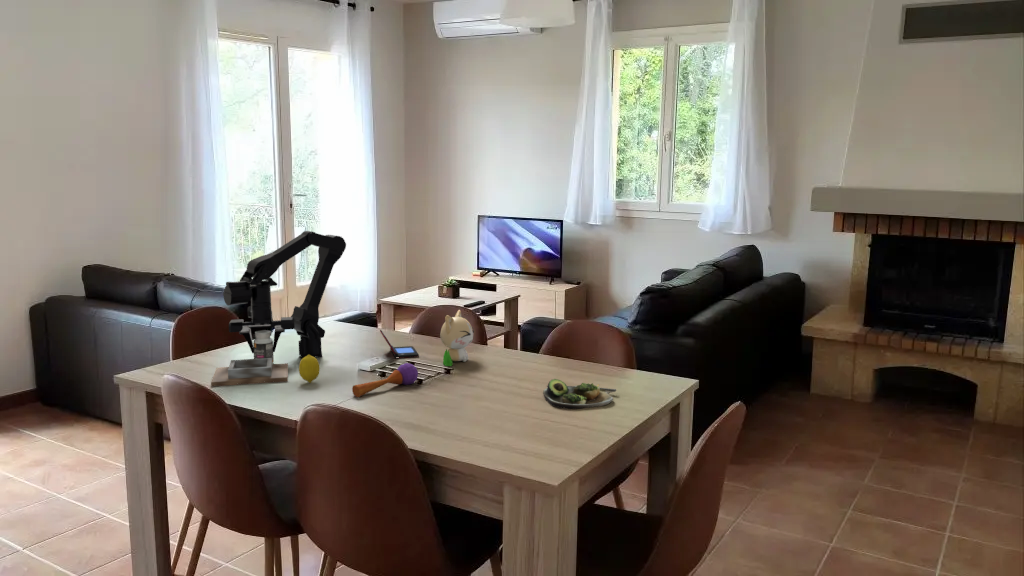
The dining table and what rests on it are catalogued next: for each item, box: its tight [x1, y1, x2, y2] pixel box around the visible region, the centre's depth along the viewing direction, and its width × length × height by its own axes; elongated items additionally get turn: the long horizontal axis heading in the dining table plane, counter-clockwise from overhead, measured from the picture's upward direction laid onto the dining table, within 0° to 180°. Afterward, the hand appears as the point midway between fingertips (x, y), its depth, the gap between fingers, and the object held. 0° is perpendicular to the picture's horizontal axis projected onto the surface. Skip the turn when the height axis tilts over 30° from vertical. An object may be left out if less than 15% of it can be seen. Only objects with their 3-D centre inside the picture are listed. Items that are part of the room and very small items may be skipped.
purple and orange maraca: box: [351, 362, 419, 398], centre depth 217 cm, size 6×6×20 cm
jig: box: [210, 358, 289, 387], centre depth 229 cm, size 20×16×4 cm
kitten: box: [439, 309, 475, 367], centre depth 247 cm, size 15×10×15 cm
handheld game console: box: [379, 329, 419, 359], centre depth 256 cm, size 12×11×7 cm
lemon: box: [298, 355, 321, 384], centre depth 223 cm, size 6×6×8 cm
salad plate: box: [542, 378, 617, 410], centre depth 209 cm, size 19×18×5 cm
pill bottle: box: [253, 329, 275, 364], centre depth 243 cm, size 6×6×10 cm
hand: (263, 352), depth 243 cm, fingers closed on pill bottle, 6 cm apart
